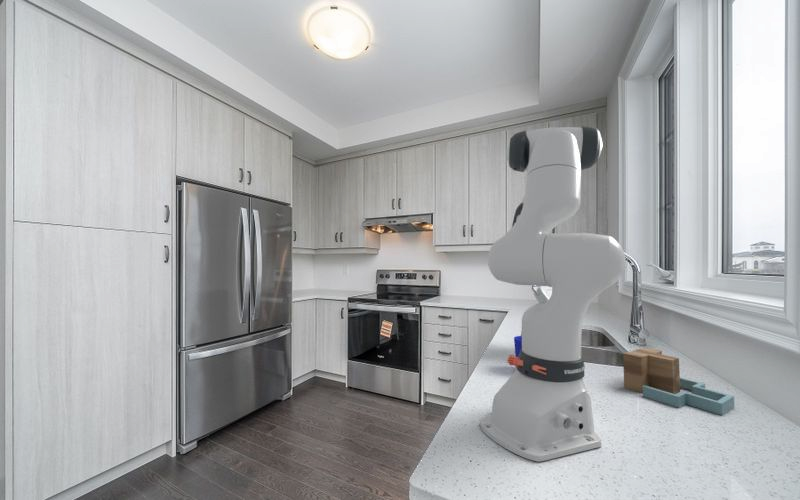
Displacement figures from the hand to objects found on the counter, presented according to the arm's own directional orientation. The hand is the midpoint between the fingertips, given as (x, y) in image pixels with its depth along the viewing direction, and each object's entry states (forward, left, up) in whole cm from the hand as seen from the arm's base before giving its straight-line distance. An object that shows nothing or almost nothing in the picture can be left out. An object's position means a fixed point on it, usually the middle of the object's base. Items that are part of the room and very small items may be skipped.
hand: (576, 316), depth 98 cm
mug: (-18, +2, -16) cm, 24 cm away
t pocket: (0, -27, -16) cm, 32 cm away
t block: (0, -20, -16) cm, 26 cm away
